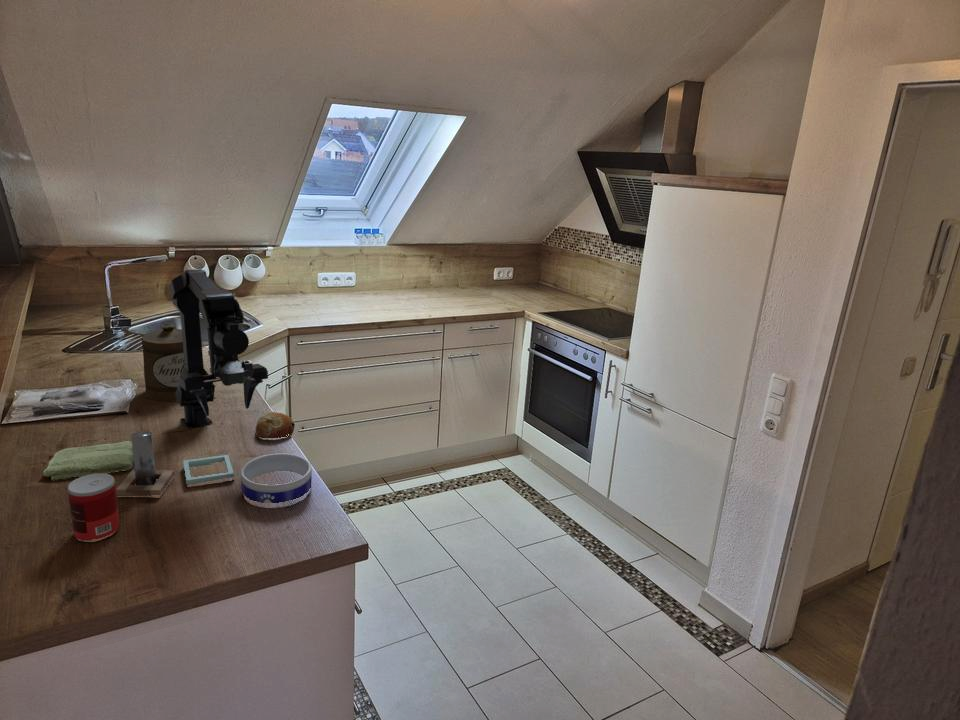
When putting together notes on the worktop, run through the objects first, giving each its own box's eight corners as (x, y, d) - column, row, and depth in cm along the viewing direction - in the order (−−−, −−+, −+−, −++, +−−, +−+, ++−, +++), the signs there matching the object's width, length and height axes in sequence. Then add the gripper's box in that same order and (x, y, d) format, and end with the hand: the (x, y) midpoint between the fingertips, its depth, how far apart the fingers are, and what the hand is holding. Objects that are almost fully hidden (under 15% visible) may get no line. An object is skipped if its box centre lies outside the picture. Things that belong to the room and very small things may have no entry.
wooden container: (161, 405, 186) (156, 332, 179) (136, 391, 194) (130, 321, 187) (209, 393, 197) (205, 324, 190) (183, 380, 205) (179, 313, 198)
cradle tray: (183, 468, 153) (183, 460, 152) (228, 461, 157) (228, 454, 157) (186, 488, 144) (186, 480, 144) (234, 481, 149) (233, 473, 148)
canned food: (127, 522, 130) (122, 473, 127) (106, 545, 123) (100, 494, 119) (88, 520, 130) (82, 471, 127) (65, 543, 122) (58, 492, 119)
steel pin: (133, 486, 143) (128, 433, 139) (152, 481, 146) (148, 429, 142) (140, 494, 141) (134, 440, 137) (159, 488, 143) (154, 435, 139)
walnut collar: (133, 477, 147) (132, 469, 146) (174, 478, 148) (174, 470, 147) (116, 497, 138) (115, 489, 138) (160, 498, 140) (159, 490, 139)
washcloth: (54, 457, 154) (52, 445, 153) (137, 449, 160) (136, 438, 159) (42, 484, 142) (40, 471, 141) (132, 474, 149) (131, 462, 148)
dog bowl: (239, 512, 137) (238, 487, 135) (243, 477, 151) (242, 454, 149) (312, 506, 142) (312, 482, 140) (310, 473, 155) (310, 451, 154)
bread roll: (261, 438, 179) (248, 415, 175) (296, 421, 181) (283, 398, 177) (263, 454, 170) (249, 430, 167) (299, 436, 172) (286, 412, 168)
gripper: (189, 359, 137) (195, 428, 140) (274, 348, 148) (279, 412, 151) (175, 350, 145) (182, 416, 149) (257, 340, 156) (261, 401, 160)
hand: (227, 411), depth 152 cm, fingers open, 9 cm apart
